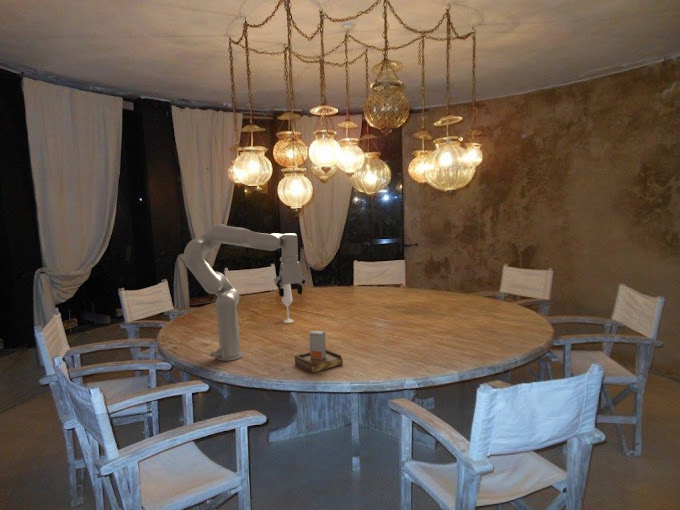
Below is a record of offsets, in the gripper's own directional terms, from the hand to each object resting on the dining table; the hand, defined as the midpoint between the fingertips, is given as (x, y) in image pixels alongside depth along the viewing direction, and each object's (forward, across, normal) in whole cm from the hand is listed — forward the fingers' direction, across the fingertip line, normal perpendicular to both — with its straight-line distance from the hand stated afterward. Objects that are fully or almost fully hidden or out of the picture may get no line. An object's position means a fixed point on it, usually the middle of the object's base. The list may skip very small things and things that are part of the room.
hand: (290, 295), depth 224 cm
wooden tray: (+28, +2, -22) cm, 36 cm away
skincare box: (+26, +2, -22) cm, 34 cm away
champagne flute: (+29, +28, +57) cm, 70 cm away
